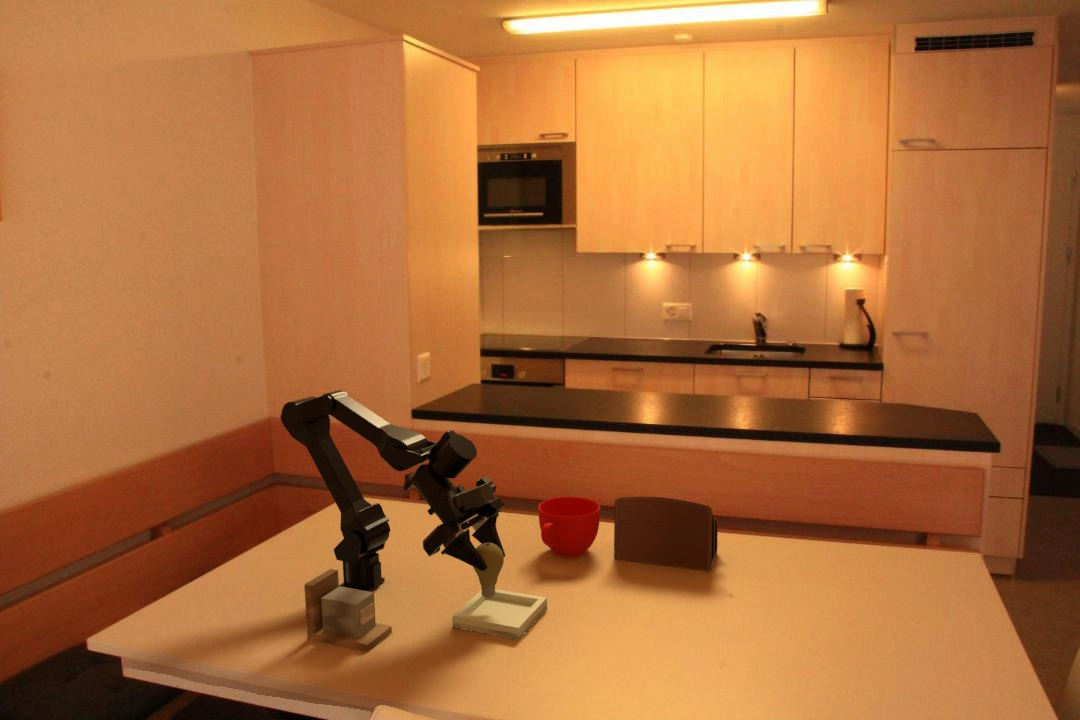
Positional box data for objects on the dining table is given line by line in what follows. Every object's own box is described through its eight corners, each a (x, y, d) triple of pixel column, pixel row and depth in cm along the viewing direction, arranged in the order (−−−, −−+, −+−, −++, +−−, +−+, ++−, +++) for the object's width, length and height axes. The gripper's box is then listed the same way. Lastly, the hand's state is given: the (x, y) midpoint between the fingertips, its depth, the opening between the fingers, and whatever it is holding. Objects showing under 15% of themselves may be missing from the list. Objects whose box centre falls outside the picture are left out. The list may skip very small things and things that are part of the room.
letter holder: (710, 572, 166) (712, 503, 164) (613, 560, 172) (613, 494, 170) (717, 554, 175) (719, 488, 173) (624, 543, 182) (624, 480, 180)
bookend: (307, 638, 141) (304, 584, 139) (333, 620, 147) (330, 568, 146) (368, 651, 136) (365, 595, 135) (391, 632, 142) (389, 578, 141)
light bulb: (507, 602, 146) (506, 547, 144) (475, 606, 144) (474, 550, 143) (501, 589, 151) (500, 536, 149) (470, 593, 150) (469, 539, 148)
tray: (452, 627, 144) (452, 615, 143) (485, 598, 155) (484, 587, 155) (518, 640, 139) (518, 627, 139) (547, 609, 150) (547, 597, 150)
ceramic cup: (516, 562, 172) (515, 515, 170) (558, 536, 186) (558, 493, 184) (571, 575, 165) (571, 526, 163) (611, 547, 179) (610, 502, 177)
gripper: (434, 480, 138) (493, 556, 134) (494, 453, 154) (548, 520, 151) (398, 519, 143) (453, 593, 139) (460, 489, 159) (511, 555, 156)
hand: (494, 563), depth 146 cm, fingers closed on light bulb, 6 cm apart
